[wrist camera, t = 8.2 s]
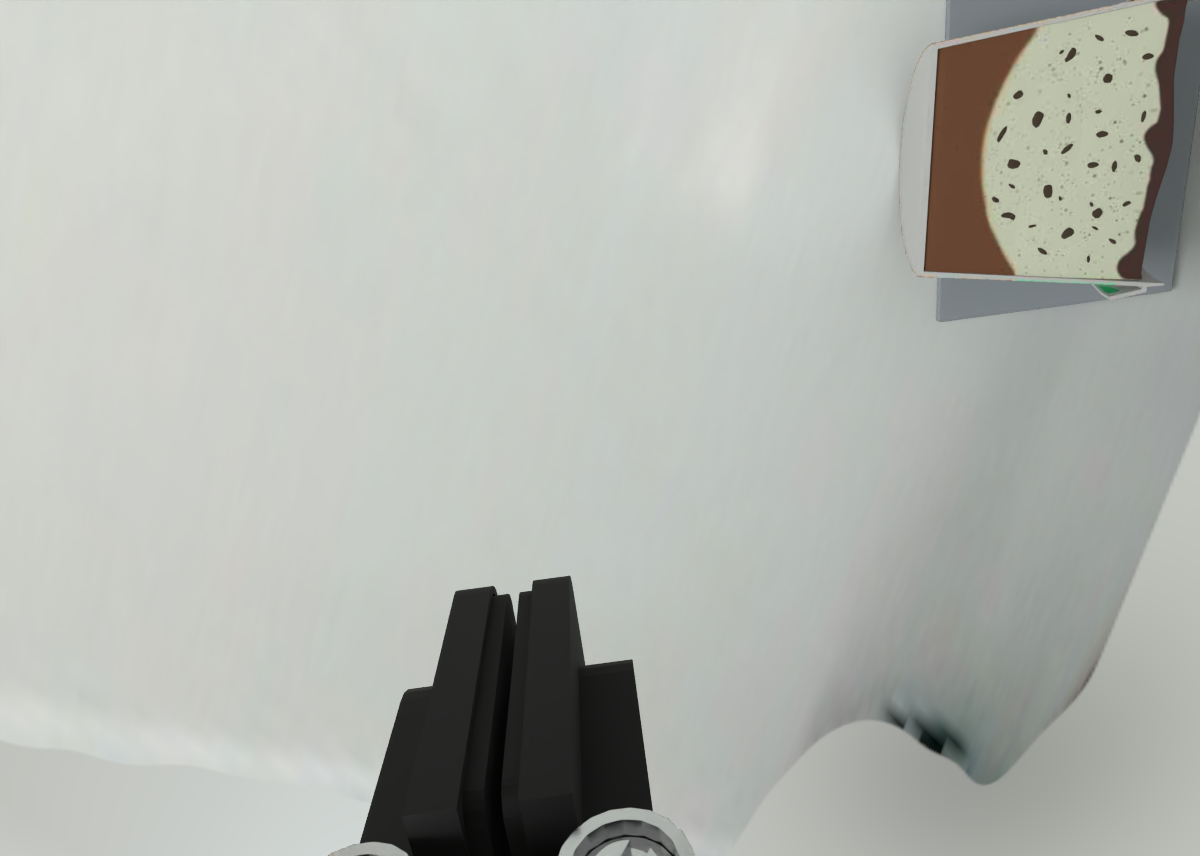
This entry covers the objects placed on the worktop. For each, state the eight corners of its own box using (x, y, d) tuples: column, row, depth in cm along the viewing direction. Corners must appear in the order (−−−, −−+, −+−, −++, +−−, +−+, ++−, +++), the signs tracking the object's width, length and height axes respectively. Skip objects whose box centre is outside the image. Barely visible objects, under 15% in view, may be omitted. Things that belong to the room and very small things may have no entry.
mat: (947, -30, 34) (951, -32, 34) (1214, -67, 34) (1221, -69, 34) (936, 320, 40) (939, 322, 39) (1165, 289, 40) (1171, 291, 39)
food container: (888, 284, 40) (1097, 272, 38) (915, 310, 35) (1161, 297, 33) (901, 21, 36) (1137, -5, 34) (934, 1, 30) (1219, -32, 28)
